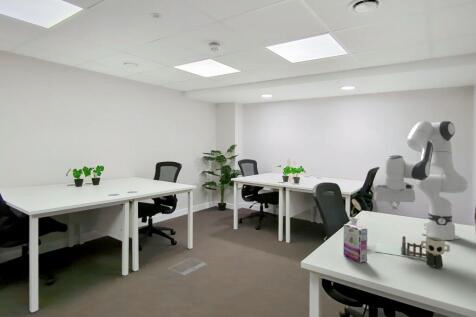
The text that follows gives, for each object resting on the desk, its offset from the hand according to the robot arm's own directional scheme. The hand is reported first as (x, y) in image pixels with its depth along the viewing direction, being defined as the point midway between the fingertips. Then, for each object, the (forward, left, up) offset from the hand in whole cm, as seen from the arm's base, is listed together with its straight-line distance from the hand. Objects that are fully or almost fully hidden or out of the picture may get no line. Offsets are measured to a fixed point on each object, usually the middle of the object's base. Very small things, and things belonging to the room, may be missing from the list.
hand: (393, 209), depth 150 cm
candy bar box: (+27, -18, -22) cm, 39 cm away
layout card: (+5, +4, -21) cm, 22 cm away
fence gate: (+3, +5, -21) cm, 21 cm away
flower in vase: (-1, -21, -22) cm, 30 cm away
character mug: (+19, +16, -22) cm, 33 cm away
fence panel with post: (+10, +9, -21) cm, 25 cm away
